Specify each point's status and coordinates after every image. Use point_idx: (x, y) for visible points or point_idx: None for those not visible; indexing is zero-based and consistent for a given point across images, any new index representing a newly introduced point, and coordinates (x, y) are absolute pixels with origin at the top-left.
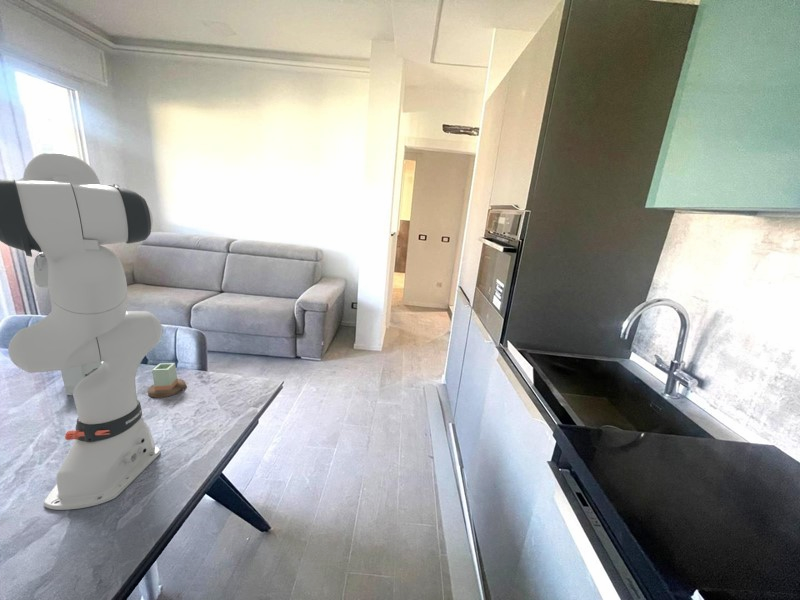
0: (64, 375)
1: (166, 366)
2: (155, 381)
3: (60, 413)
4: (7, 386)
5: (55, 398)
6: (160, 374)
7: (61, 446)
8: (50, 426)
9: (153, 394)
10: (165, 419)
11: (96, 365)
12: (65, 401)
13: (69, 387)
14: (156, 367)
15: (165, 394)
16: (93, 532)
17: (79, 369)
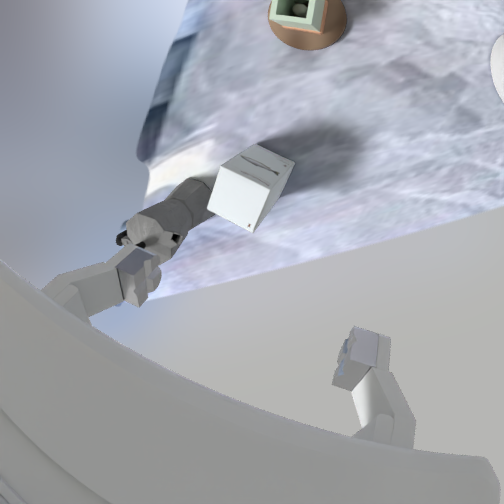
0: (267, 212)
1: (279, 3)
2: (317, 26)
3: (351, 186)
4: (225, 281)
5: (286, 210)
6: (316, 10)
7: (467, 157)
8: (394, 188)
9: (340, 33)
10: (441, 8)
11: (245, 163)
12: (304, 192)
13: (278, 196)
14: (295, 18)
15: (345, 11)
16: None
17: (274, 187)
